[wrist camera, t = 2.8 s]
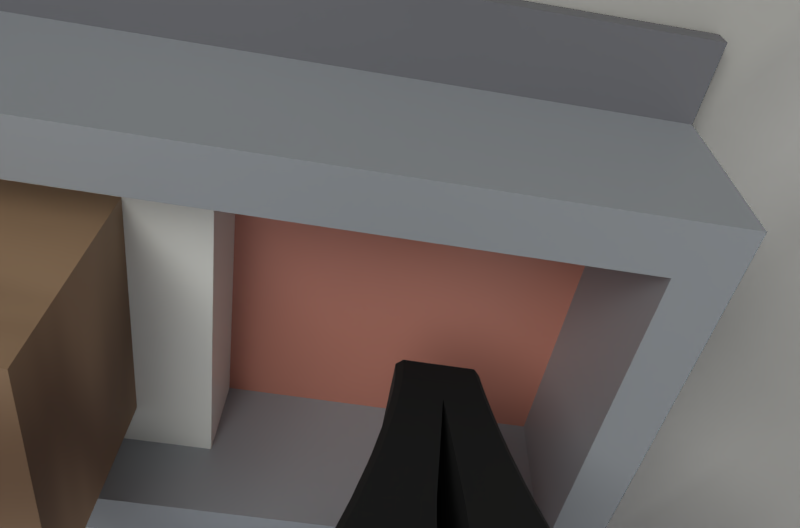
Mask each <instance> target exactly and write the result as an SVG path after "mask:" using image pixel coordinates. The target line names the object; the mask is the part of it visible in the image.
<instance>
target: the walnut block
mask: <svg viewBox="0 0 800 528" xmlns="http://www.w3.org/2000/svg"><path fill="white" fill-rule="evenodd" d="M136 409H137V401H136V388H135V374H134V361H133V347H132V334H131V320H130V307H129V293H128V280H127V266H126V253H125V239H124V226H123V212H122V199H121V197H117V196H110V195H104V194H97V193H90V192H84V191H77V190H70V189H63V188H57V187H50V186H43V185H36V184H30V183H23V182H16V181H9V180H3V179H0V528H85V527H86V525H87V523H88V520H89V518H90V516H91V513H92V511H93V509H94V506H95V504H96V502H97V499H98V497H99V495H100V492H101V490H102V488H103V485H104V483H105V481H106V478H107V476H108V474H109V471H110V469H111V467H112V464H113V462H114V460H115V457H116V455H117V453H118V451H119V448H120V446H121V444H122V441H123V439H124V437H125V434H126V432H127V430H128V427H129V425H130V423H131V420H132V418H133V416H134V413H135V411H136Z"/></svg>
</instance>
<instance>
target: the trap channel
mask: <svg viewBox="0 0 800 528" xmlns="http://www.w3.org/2000/svg"><path fill="white" fill-rule="evenodd" d="M726 45H727V42H726V41H725V40H724V39H723V38H722V37H721V36H720V35H718V34H712V33H707V32H701V31H695V30H689V29H684V28H678V27H672V26H666V25H661V24H655V23H649V22H643V21H638V20H632V19H626V18H620V17H615V16H609V15H603V14H597V13H592V12H586V11H580V10H574V9H569V8H563V7H557V6H551V5H546V4H540V3H534V2H528V1H523V0H0V179H3V180H9V181H16V182H23V183H30V184H36V185H43V186H50V187H57V188H63V189H70V190H77V191H84V192H90V193H97V194H104V195H110V196H117V197H121V199H122V212H123V226H124V239H125V253H126V266H127V280H128V293H129V307H130V320H131V334H132V347H133V361H134V374H135V388H136V401H137V409H136V411H135V413H134V416H133V418H132V420H131V423H130V425H129V427H128V430H127V432H126V434H125V437H124V439H123V441H122V444H121V446H120V448H119V451H118V453H117V455H116V457H115V460H114V462H113V464H112V467H111V469H110V471H109V474H108V476H107V478H106V481H105V483H104V485H103V488H102V490H101V492H100V495H99V497H98V499H97V502H96V504H95V506H94V509H93V511H92V513H91V516H90V518H89V520H88V523H87V525H86V527H90V528H335V527H336V525H337V523H338V521H339V520H340V518H341V516H342V514H343V512H344V510H345V508H346V506H347V505H348V503H349V501H350V499H351V497H352V495H353V493H354V490H355V488H356V486H357V484H358V482H359V480H360V478H361V476H362V474H363V471H364V469H365V467H366V465H367V463H368V461H369V458H370V456H371V454H372V451H373V449H374V446H375V443H376V441H377V438H378V436H379V433H380V430H381V428H382V425H383V420H384V415H385V411H386V406H387V401H388V397H389V392H390V387H391V383H392V378H393V374H394V369H395V364H396V363H398V362H400V361H402V360H409V361H417V362H424V363H431V364H439V365H446V366H453V367H460V368H468V369H474V370H475V371H476V372H477V374H478V375H479V377H480V380H481V383H482V386H483V389H484V392H485V394H486V397H487V400H488V402H489V405H490V407H491V410H492V412H493V415H494V417H495V419H496V422H497V424H498V426H499V429H500V431H501V433H502V436H503V438H504V440H505V442H506V444H507V446H508V449H509V451H510V453H511V455H512V457H513V459H514V461H515V463H516V465H517V467H518V469H519V471H520V473H521V475H522V477H523V479H524V481H525V483H526V485H527V487H528V489H529V491H530V493H531V495H532V497H533V498H534V500H535V502H536V504H537V506H538V507H539V509H540V511H541V513H542V515H543V516H544V518H545V520H546V522H547V523H548V525H549V527H550V528H606V526H607V525H608V523H609V521H610V519H611V517H612V515H613V514H614V512H615V510H616V508H617V506H618V504H619V503H620V501H621V499H622V497H623V495H624V493H625V492H626V490H627V488H628V486H629V484H630V482H631V481H632V479H633V477H634V475H635V473H636V471H637V470H638V468H639V466H640V464H641V462H642V460H643V459H644V457H645V455H646V453H647V451H648V449H649V448H650V446H651V444H652V442H653V440H654V438H655V437H656V435H657V433H658V431H659V429H660V427H661V426H662V424H663V422H664V420H665V418H666V416H667V415H668V413H669V411H670V409H671V407H672V405H673V404H674V402H675V400H676V398H677V396H678V394H679V393H680V391H681V389H682V387H683V385H684V383H685V382H686V380H687V378H688V376H689V374H690V372H691V371H692V369H693V367H694V365H695V363H696V361H697V360H698V358H699V356H700V354H701V352H702V350H703V349H704V347H705V345H706V343H707V341H708V339H709V338H710V336H711V334H712V332H713V330H714V328H715V327H716V325H717V323H718V321H719V319H720V317H721V316H722V314H723V312H724V310H725V308H726V306H727V305H728V303H729V301H730V299H731V297H732V295H733V294H734V292H735V290H736V288H737V286H738V284H739V283H740V281H741V279H742V277H743V275H744V273H745V272H746V270H747V268H748V266H749V264H750V262H751V261H752V259H753V257H754V255H755V253H756V251H757V250H758V248H759V246H760V244H761V242H762V240H763V239H764V237H765V235H766V233H767V231H766V230H765V229H764V227H763V226H762V224H761V223H760V221H759V220H758V218H757V217H756V216H755V214H754V213H753V211H752V210H751V208H750V207H749V206H748V204H747V203H746V201H745V200H744V198H743V197H742V195H741V194H740V193H739V191H738V190H737V188H736V187H735V185H734V184H733V183H732V181H731V180H730V178H729V177H728V175H727V174H726V172H725V171H724V170H723V168H722V167H721V165H720V164H719V162H718V161H717V160H716V158H715V157H714V155H713V154H712V152H711V151H710V150H709V148H708V147H707V145H706V144H705V142H704V141H703V139H702V138H701V137H700V135H699V134H698V132H697V131H696V129H695V128H694V127H693V125H692V124H693V122H694V119H695V117H696V115H697V112H698V110H699V108H700V105H701V103H702V101H703V98H704V96H705V94H706V91H707V89H708V87H709V84H710V82H711V80H712V77H713V75H714V73H715V70H716V68H717V66H718V63H719V61H720V59H721V56H722V54H723V52H724V49H725V47H726Z"/></svg>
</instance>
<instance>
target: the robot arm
mask: <svg viewBox="0 0 800 528" xmlns="http://www.w3.org/2000/svg"><path fill="white" fill-rule="evenodd" d="M335 528H550V527H549V525H548V523H547V522H546V520H545V518H544V516H543V515H542V513H541V511H540V509H539V507H538V506H537V504H536V502H535V500H534V498H533V497H532V495H531V493H530V491H529V489H528V487H527V485H526V483H525V481H524V479H523V477H522V475H521V473H520V471H519V469H518V467H517V465H516V463H515V461H514V459H513V457H512V455H511V453H510V451H509V449H508V446H507V444H506V442H505V440H504V438H503V436H502V433H501V431H500V429H499V426H498V424H497V422H496V419H495V417H494V415H493V412H492V410H491V407H490V405H489V402H488V400H487V397H486V394H485V392H484V389H483V386H482V383H481V380H480V377H479V375H478V374H477V372H476V371H475V370H474V369H468V368H460V367H453V366H446V365H439V364H431V363H424V362H417V361H409V360H402V361H400V362H398V363H396V364H395V369H394V374H393V378H392V383H391V387H390V392H389V397H388V401H387V406H386V411H385V415H384V420H383V425H382V428H381V430H380V433H379V436H378V438H377V441H376V443H375V446H374V449H373V451H372V454H371V456H370V458H369V461H368V463H367V465H366V467H365V469H364V471H363V474H362V476H361V478H360V480H359V482H358V484H357V486H356V488H355V490H354V493H353V495H352V497H351V499H350V501H349V503H348V505H347V506H346V508H345V510H344V512H343V514H342V516H341V518H340V520H339V521H338V523H337V525H336V527H335Z"/></svg>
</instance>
